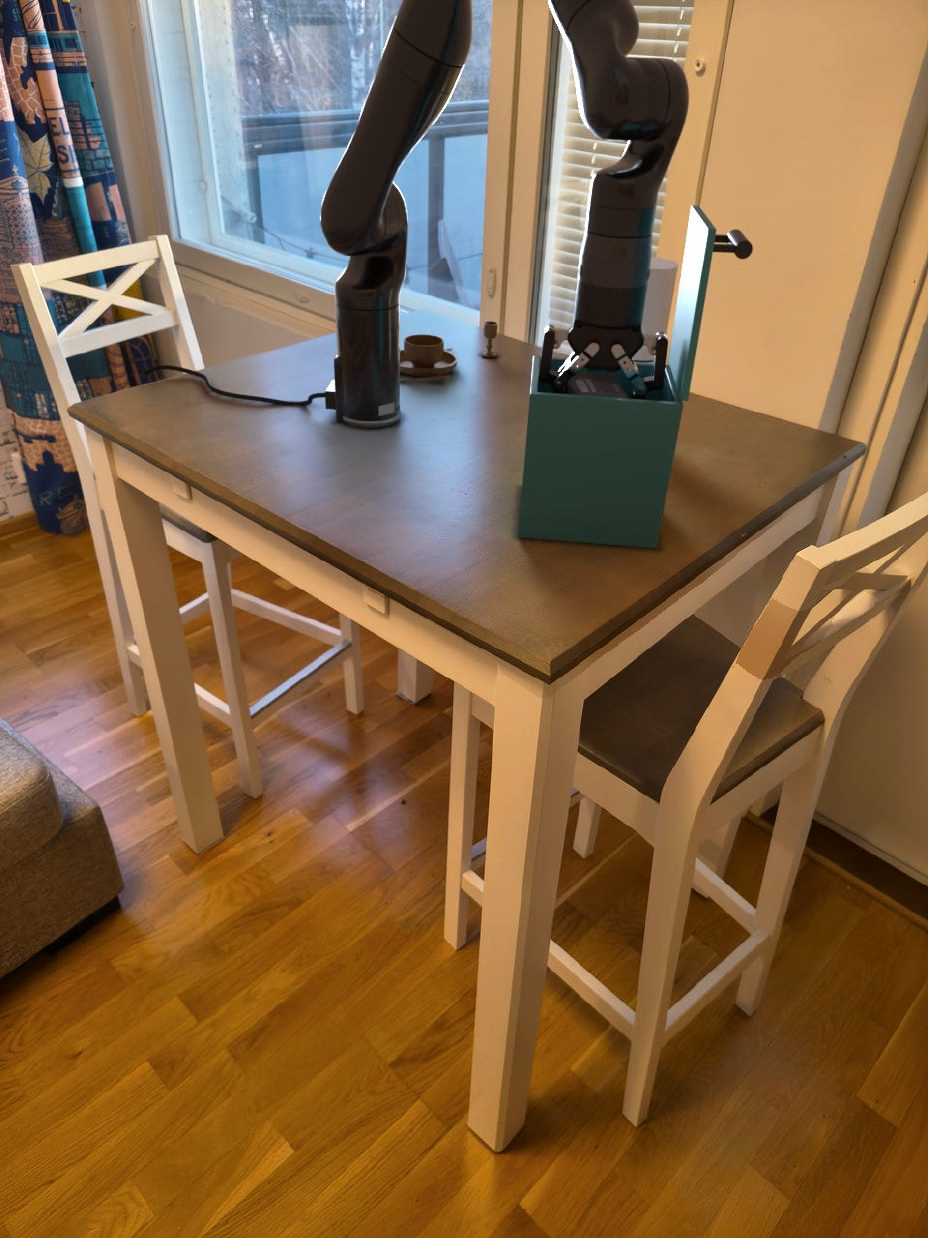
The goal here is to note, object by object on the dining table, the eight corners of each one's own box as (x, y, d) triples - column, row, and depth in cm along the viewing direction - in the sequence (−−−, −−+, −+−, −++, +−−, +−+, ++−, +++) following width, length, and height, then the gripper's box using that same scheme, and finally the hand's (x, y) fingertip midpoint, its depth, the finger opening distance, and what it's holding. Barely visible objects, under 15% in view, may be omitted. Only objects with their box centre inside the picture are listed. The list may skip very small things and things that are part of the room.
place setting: (387, 351, 163) (387, 318, 160) (495, 352, 165) (497, 320, 162) (391, 384, 149) (391, 348, 146) (509, 384, 151) (511, 349, 148)
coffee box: (549, 494, 115) (561, 371, 106) (597, 494, 115) (614, 372, 106) (561, 527, 107) (576, 398, 98) (613, 527, 108) (632, 399, 99)
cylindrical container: (647, 448, 131) (678, 270, 117) (599, 442, 132) (623, 265, 118) (649, 430, 136) (678, 259, 122) (602, 425, 137) (626, 254, 123)
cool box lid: (708, 228, 86) (765, 231, 85) (691, 205, 97) (741, 206, 97) (680, 400, 95) (731, 403, 95) (668, 360, 107) (713, 363, 106)
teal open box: (517, 537, 106) (530, 393, 96) (521, 488, 118) (533, 355, 108) (656, 548, 106) (683, 404, 96) (647, 498, 117) (670, 364, 107)
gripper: (676, 272, 98) (653, 412, 107) (547, 264, 99) (535, 404, 108) (683, 288, 92) (658, 436, 101) (546, 280, 93) (533, 427, 102)
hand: (595, 419), depth 105 cm, fingers open, 8 cm apart
